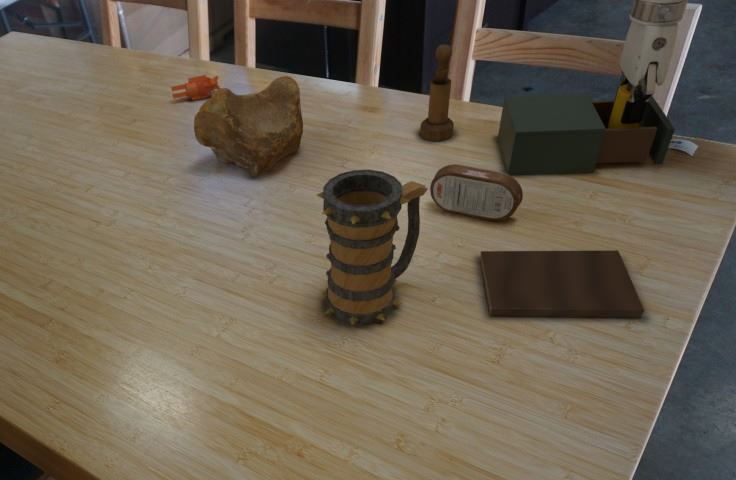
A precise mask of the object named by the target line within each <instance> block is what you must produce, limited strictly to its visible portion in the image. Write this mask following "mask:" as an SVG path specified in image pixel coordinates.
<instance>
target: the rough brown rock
mask: <svg viewBox="0 0 736 480" xmlns="http://www.w3.org/2000/svg"><path fill="white" fill-rule="evenodd" d="M300 92H301V91H300V87H299V84H298V82H297V81H296V80H295V79H294V78H293V77H291V76H288V75H284V76H279V77H276V78H275V79H273V80H272V81H271V82H270V84H269V85H268V86H266V87H265V88H264V89H263V90H261V91H260V92H257V93H255V92H254V93H247V94H236V93H234V92H233V91H232V90H230V89H229V88H227V87H220V89H215V91H213V92H212V93H211V97H210V98H208V99H206V101H204V102H203V103H202V104H201V106H200V107H199V110H198V112H197V113H196V114H195V115H194V119H193V132H194V137H195V139H196V141H197V143H199V145H200V146H203V147H206V148H210V149H211V151H212V152H213V154H214V156H215V158H216V159H217V161H218V162H221V163H224V164H230V163H234V164H235V166H236V167H239V168H241V169H242V170H243V171H244V172H246V173H247V174H249V176H252V177H258V176H260V175H262V174H264V173H266V172H267V171H268V170H270V169H271V168H272V167H273V166H274V165H276V163H277V162H279V161H280V160H281V159H282V158H284V157H286V156H287V155H291V154H292V153H294V152H296V151H297V150H298V149H299V148H300V145H301V142H302V136H303V134H304V121H303V120H304V119H303V114H302V107H301V95H300V94H301V93H300Z"/></svg>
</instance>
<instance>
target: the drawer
mask: <svg viewBox="0 0 736 480" xmlns="http://www.w3.org/2000/svg"><path fill="white" fill-rule="evenodd" d="M614 100H615V99H607V100H605V99H604V100H603V99H602V100H591V102H592V103H593V105H594V107H595V109H596V111H597V113H598V115H599V117H600V119H601V121H602V122H603V124H604V126H605V128H606V129H605V132H604V137H603V140H602V144H601V147H600V151H599V154H598V158H597V162H596V164H606V163H607V164H609V163H610V164H612V163H644V162H645V163H646V162H647V160H648V157H650V159H651V160H652V162H653V163H654V165H655V166H658V165H659V166H660V165H661V166H662V165H663V164H664V161H665V158H666V155H667V154H668V153H667V152H668V151H669V147H670V144H671V143H672V142H671V141H672V139H673V136H674V133H675V131H676V129H675V127H674V125H673V124H672V122H671V121H670V119H669V118H668V117H667V115H666V113H665V112H664V111H663V109H662V108H661V106H660V105H659V103H658V102H657V100H656V99H655V97H654V95H652V96H650V98H649V101H648V102H647V105H646V108H645V111H644V114H643V117H642V121H641V122H640V123H639V126H638V128H612V129H607V128H608V124H609V121H610V117H611V114H612V110H613V104H614Z"/></svg>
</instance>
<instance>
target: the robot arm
mask: <svg viewBox="0 0 736 480" xmlns="http://www.w3.org/2000/svg"><path fill="white" fill-rule="evenodd" d="M688 2H689V0H633V2H632V6H631V10H630V14H629V16H628V17H629V20H630V21H631V23H630V25H629V28H628V30H627V34H626V38H625V41H624V44H623V46H622V50H621V53H620V59H619V66H620V67H619V68H620V70H621V75H620V78H619V80H618V87H617V90H616V93H615V97H614V99H613V100H614V103H615V99H616V96H617V92H618V89H619V87H621V86H623V85H626V84H628V83H629V82H630V83H631V84H632V88H631V93H630V98H629V101H626V104H625V108H624V111H623V114H622V118H621V123H622V124H630V123H640V122H641V121H642V117H643V114H644V111H645V108H646V105H647V102H648V101H649V98H650V96H654V95H655V92H656V85H657V86H662V85H664V84H665V81H666V79H667V75H668V72H669V68H670V64H671V61H672V56H673V53H674V49H675V45H676V41H677V36H678V28H679V23H680V22H681V21H682V20H683V18H684V14H685V11H686V8H687V5H688ZM640 81H644V82H641V83H639V82H640ZM640 87H644V89H643V90H642V91H639V92H638V93H637V94H636V92H637V88H640ZM613 106H614V104H613Z"/></svg>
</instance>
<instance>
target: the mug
mask: <svg viewBox="0 0 736 480" xmlns="http://www.w3.org/2000/svg"><path fill="white" fill-rule="evenodd" d="M428 190H429V188H428V187H426V185H425V184H422V183H419V182H416V181H412V180H411V181H408V182H406V183H404V184H402V182H401V181H399V180H398V179H397V177H396V176H395V175H391V174H389V173H387V172H385V171H380V170H375V169H353V170H349V171H345V172H342V173H341V172H340V173H339V174H337V175H335V176H333V177H331V178H329V179H328V181H327V182H326V183H325V184H324V185H323V187H322V192H319V193H316V194H315V196H317V197H318V198H321V199H323V204H322V205H323V206H322V207H323V208H322V209H323V212H322V213H321V214H322V215H325V216H326V218H325V220H324V225H325V227H326V231H327V234H328V236H329V237H328V238H329V241H330V243H329V245H328V252H327V253H326V255H325V258H326V259H327V260H329V262H330V268H329V270H327V271H326V272H325V275H326V276H327V283H326V284H327V287H326V289H325V291H323V292H320V293H319V294H320V295H321V296H323V297H325V308H326V311H325V312H324V314H329V315H330V316H331V317H333V318H334V319H336V320H337V321H339V322H340V323H344V324H348V325H351V326H370V325H373V324H377V323H381V322H382V321H384V322H386V318H388V317H389V316H391V314H392V312H393V310H394V308H395V306H396V305H400V304H403V302H402V301H399V299H398V300H397V299H396V291H395V287H394V285H395V283H396V282H397V279H398V278H399V277H400V276H401V275H403V274H404V273H405V272H406V270H408V268H409V266H410V264H411V261H412V259H413V257H414V254H415V251H416V248H417V244H418V240H419V238H420V237H419V236H420V230H421V229H420V227H421V217H420V216H421V215H420V202H421V197H422V196H424V195H425V194H426V193H427V191H428ZM403 204H406V205H407V206H406V207H407V220H408V221H407V234H406V237H405V242H404V245H403V246H402V247H403V248H402V250H401V253H400V255H399V258H398V260H397V261H396V263H395V264H393V260H394V253H395V250H396V249H397V247H396V244H394V235H395V234H396V232H398V231H400V226H399V222H398V221H399V219H398V215H399V213H400V212H401V210H402V207H403ZM392 264H393V265H392Z"/></svg>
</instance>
